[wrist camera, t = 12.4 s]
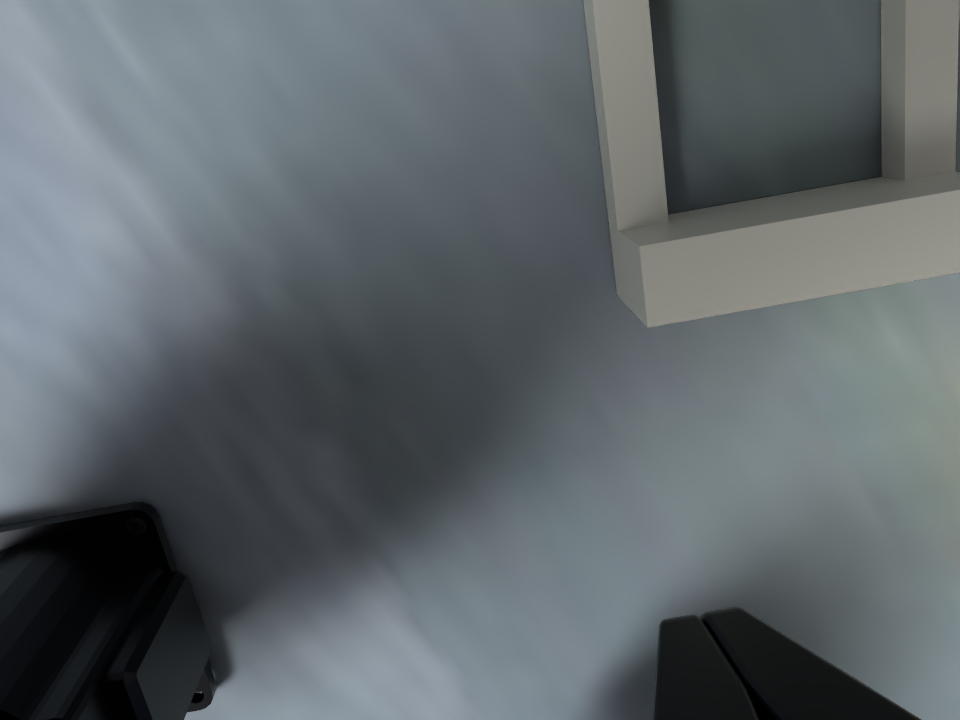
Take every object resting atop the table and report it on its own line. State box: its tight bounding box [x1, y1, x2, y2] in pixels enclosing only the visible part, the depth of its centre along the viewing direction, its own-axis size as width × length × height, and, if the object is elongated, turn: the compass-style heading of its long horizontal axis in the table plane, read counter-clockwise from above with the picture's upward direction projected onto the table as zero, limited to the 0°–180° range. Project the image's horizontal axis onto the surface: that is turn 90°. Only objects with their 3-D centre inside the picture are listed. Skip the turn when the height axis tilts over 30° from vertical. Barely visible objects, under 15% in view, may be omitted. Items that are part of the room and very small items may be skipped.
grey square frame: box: [583, 0, 960, 328], centre depth 17 cm, size 8×9×3 cm
